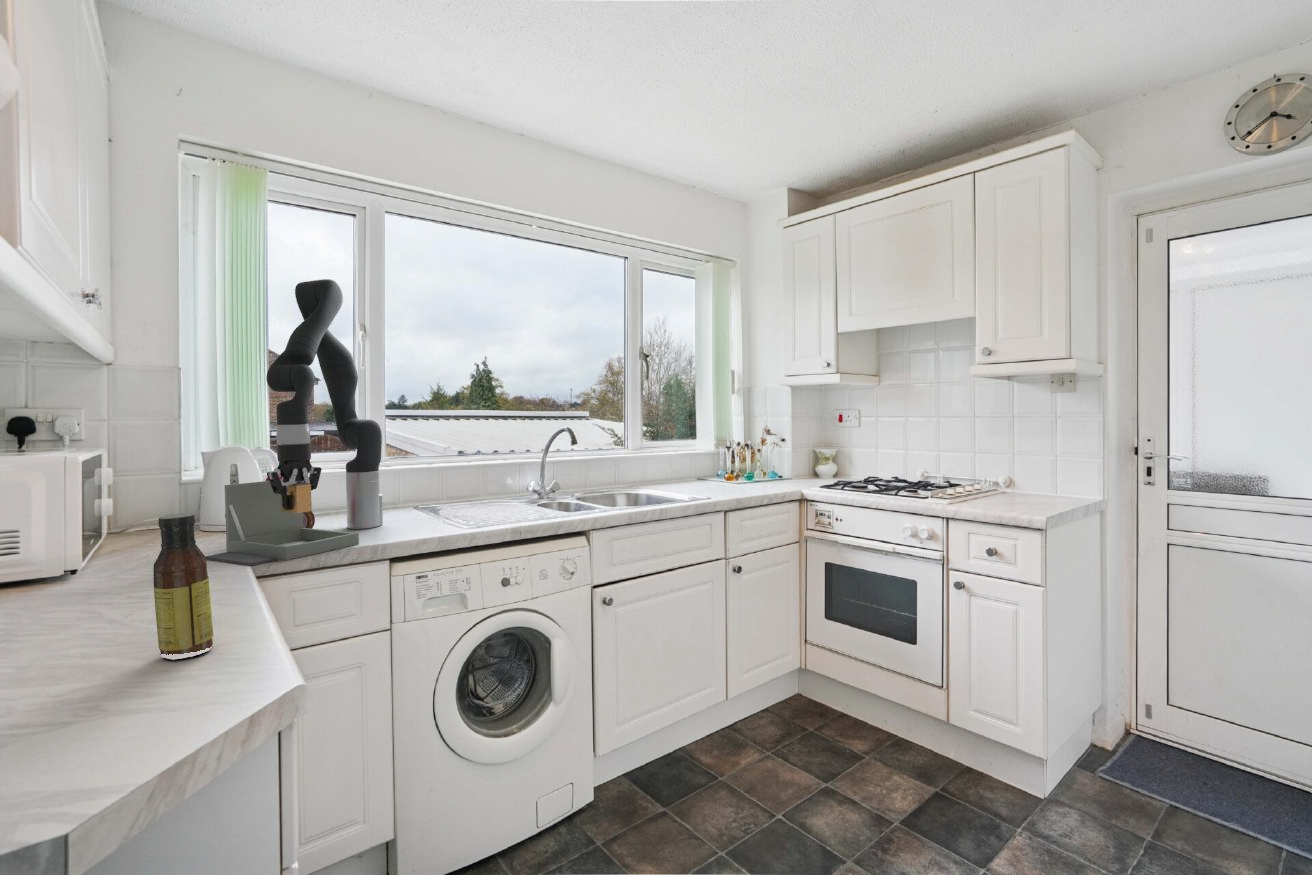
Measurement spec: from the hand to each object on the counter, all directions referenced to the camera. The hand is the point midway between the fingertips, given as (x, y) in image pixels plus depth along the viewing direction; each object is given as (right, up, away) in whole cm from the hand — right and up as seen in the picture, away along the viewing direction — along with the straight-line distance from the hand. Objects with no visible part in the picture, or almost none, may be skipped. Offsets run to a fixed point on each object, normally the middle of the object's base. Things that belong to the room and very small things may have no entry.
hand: (296, 508), depth 161 cm
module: (0, -1, 0) cm, 1 cm away
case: (0, -10, 0) cm, 10 cm away
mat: (-6, -11, -13) cm, 18 cm away
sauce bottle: (+26, -13, -73) cm, 79 cm away
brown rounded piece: (-15, -10, +21) cm, 28 cm away
